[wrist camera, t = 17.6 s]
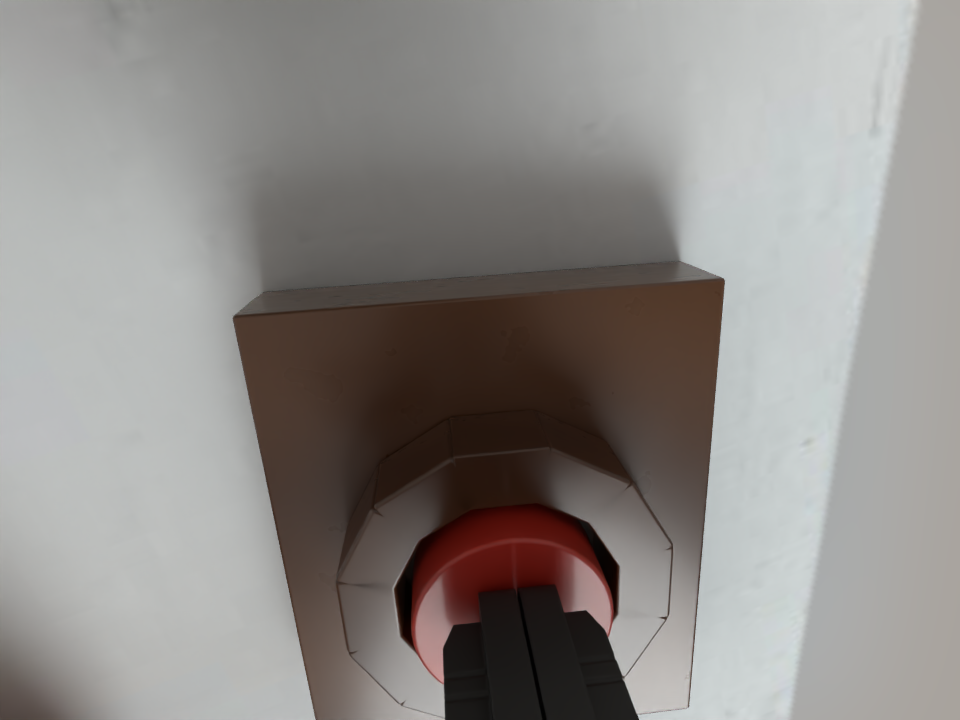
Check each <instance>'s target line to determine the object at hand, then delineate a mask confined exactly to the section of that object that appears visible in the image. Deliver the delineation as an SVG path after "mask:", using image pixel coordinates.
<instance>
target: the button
mask: <svg viewBox="0 0 960 720" xmlns="http://www.w3.org/2000/svg"><path fill="white" fill-rule="evenodd" d="M552 584H555V586H556V588H557V591H558V594H559V597H560V600H561V604H562V607H563V610H564V612H573V611H582V610H587V611H588V612H589V613H590V614H591V616H592V617H593V618H594V619H595V620H596V621H597V622H598V623H599V624H600V625H601V626H602V627H603V628H604V629H605V631H606V634H607V636H608V637H609V635H610V631H611V627H612V622H613V613H614V610H613V599H612V595H611V591H610V588H609V586H608V583H607V581H606V579H605V576H604V574H603V572H602V569H601V567H600V564H599V562H598V560H597V557H596V555H595V553H594V550H593V548H592V546H591V543H590V541H589V539H588V536H587V534H586V532H585V530H584V528H583V527H582V525H581V524H580V522H579V521H578V520H577V519H576V518H573V517H571V516H568V515H566V514H563V513H560V512H558V511H555V510H553V509H550V508H548V507H545V506H543V505H540V504H538V503H534V504H524V505H514V506H504V507H494V508H484V509H474V510H470V511H469V512H467V513H465V514H464V515H462V516H460V517H459V518H457V519H456V520H454V521H452V522H451V523H449V524H448V525H446V526H444V527H443V528H441V529H439V530H438V531H436V532H435V533H433V534H431V535H430V536H428V537H426V538H425V539H423V540H422V541H421V543H420V545H419V546H418V548H417V551H416V555H415V558H414V564H413V581H412V610H411V635H412V639H413V644H414V647H415V650H416V652H417V655H418V657H419V658H420V660H421V662H422V663H423V665H424V667H425V668H426V669H427V670H428V671H429V673H430V674H431V675H432V676H433V677H434V678H436V679H437V680H438V681H439V682H440V683H442V684H443V685H444V672H443V647H444V645H445V642H446V640H447V638H448V636H449V633H450V631H451V629H452V627H453V625H457V624H466V623H475V622H480V615H479V601H478V593H479V592H488V591H497V590H507V589H515V590H516V594H517V589H518V588H524V587H533V586H542V585H552Z"/></svg>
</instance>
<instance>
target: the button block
mask: <svg viewBox="0 0 960 720" xmlns="http://www.w3.org/2000/svg"><path fill="white" fill-rule="evenodd" d="M724 284H725V281H724V278H721V277H719V276H716V275H714V274H711V273H709V272H706V271H704V270H701V269H699V268H696V267H694V266H691V265H689V264H686V263H684V262H681V261H677V262H663V263H650V264H636V265H623V266H609V267H596V268H582V269H569V270H555V271H542V272H528V273H515V274H501V275H488V276H474V277H461V278H447V279H434V280H421V281H407V282H394V283H380V284H367V285H353V286H340V287H326V288H313V289H299V290H286V291H272V292H263V293H261V294H260V295H259V296H257V297H256V298H255V299H254V300H252V301H251V302H250V303H249V304H248V305H246V306H245V307H244V308H243V309H241V310H240V311H239V312H238V313H236V314H235V315H234V316H233V322H234V327H235V332H236V337H237V342H238V346H239V351H240V356H241V361H242V366H243V371H244V375H245V380H246V385H247V390H248V395H249V400H250V404H251V409H252V414H253V419H254V424H255V429H256V433H257V438H258V443H259V448H260V453H261V458H262V463H263V467H264V472H265V477H266V482H267V487H268V492H269V496H270V501H271V506H272V511H273V516H274V521H275V525H276V530H277V535H278V540H279V545H280V550H281V554H282V559H283V564H284V569H285V574H286V579H287V583H288V588H289V593H290V598H291V603H292V608H293V612H294V617H295V622H296V627H297V632H298V637H299V642H300V646H301V651H302V656H303V661H304V666H305V671H306V675H307V680H308V685H309V690H310V695H311V700H312V704H313V709H314V714H315V719H316V720H445V703H444V702H445V699H444V685H443V684H442V683H440V682H439V681H438V680H437V679H436V678H434V677H433V676H432V675H431V674H430V673H429V671H428V670H427V669H426V668H425V667H424V665H423V663H422V662H421V660H420V658H419V657H418V655H417V652H416V650H415V647H414V644H413V639H412V635H411V610H412V581H413V564H414V558H415V555H416V551H417V548H418V546H419V545H420V543H421V541H422V540H423V539H425V538H426V537H428V536H430V535H431V534H433V533H435V532H436V531H438V530H439V529H441V528H443V527H444V526H446V525H448V524H449V523H451V522H452V521H454V520H456V519H457V518H459V517H460V516H462V515H464V514H465V513H467V512H469V511H470V510H474V509H484V508H494V507H504V506H514V505H524V504H534V503H538V504H540V505H543V506H545V507H548V508H550V509H553V510H555V511H558V512H560V513H563V514H566V515H568V516H571V517H573V518H576V519H577V520H578V521H579V522H580V524H581V525H582V527H583V528H584V530H585V532H586V534H587V536H588V539H589V541H590V543H591V546H592V548H593V550H594V553H595V555H596V557H597V560H598V562H599V564H600V567H601V569H602V572H603V574H604V576H605V579H606V581H607V583H608V586H609V588H610V591H611V595H612V599H613V610H614V613H613V622H612V627H611V631H610V635H609V637H608V639H609V642H610V644H611V647H612V650H613V652H614V656H615V660H617V663H618V665H619V668H620V671H621V673H622V678H623V681H625V684H626V687H627V689H628V692H629V695H630V697H631V700H632V703H633V705H634V708H635V711H636V713H637V715H638V714H646V713H654V712H663V711H671V710H679V709H687V708H688V707H689V700H690V688H691V676H692V664H693V652H694V640H695V628H696V617H697V605H698V593H699V581H700V569H701V557H702V545H703V533H704V522H705V510H706V498H707V486H708V474H709V462H710V450H711V438H712V427H713V415H714V403H715V391H716V379H717V367H718V355H719V344H720V332H721V320H722V308H723V296H724Z"/></svg>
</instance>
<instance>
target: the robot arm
mask: <svg viewBox="0 0 960 720" xmlns="http://www.w3.org/2000/svg"><path fill="white" fill-rule="evenodd" d="M478 601H479V615H480V622H475V623H466V624H457V625H453V627H452V629H451V631H450V633H449V636H448V638H447V640H446V642H445V645H444V647H443V672H444V699H445V702H444V703H445V720H639V719H638V716H637V713H636V711H635V708H634V705H633V703H632V700H631V697H630V695H629V692H628V689H627V687H626V684H625V681H623V678H622V673H621V671H620V668H619V665H618V663H617V660H615V656H614V652H613V650H612V647H611V644H610V642H609V639H608V636H607V634H606V631H605V629H604V628H603V627H602V626H601V625H600V624H599V623H598V622H597V621H596V620H595V619H594V618H593V617H592V616H591V614H590V613H589V612H588V611H587V610H582V611H573V612H564V610H563V607H562V604H561V600H560V597H559V594H558V591H557V588H556V586H555V584H552V585H542V586H533V587H524V588H518V589H517V594H516V590H515V589H507V590H497V591H488V592H479V593H478Z"/></svg>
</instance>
